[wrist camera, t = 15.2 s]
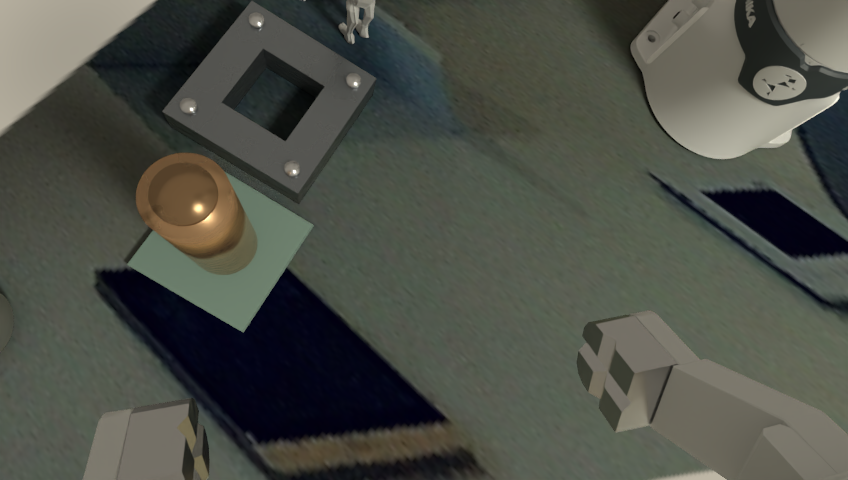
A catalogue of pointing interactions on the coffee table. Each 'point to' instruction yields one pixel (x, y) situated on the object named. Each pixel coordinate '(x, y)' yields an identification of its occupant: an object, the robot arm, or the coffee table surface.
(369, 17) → the human figurine
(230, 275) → the mat
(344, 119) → the housing
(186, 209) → the copper plug
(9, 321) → the plastic bottle
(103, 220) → the coffee table surface
